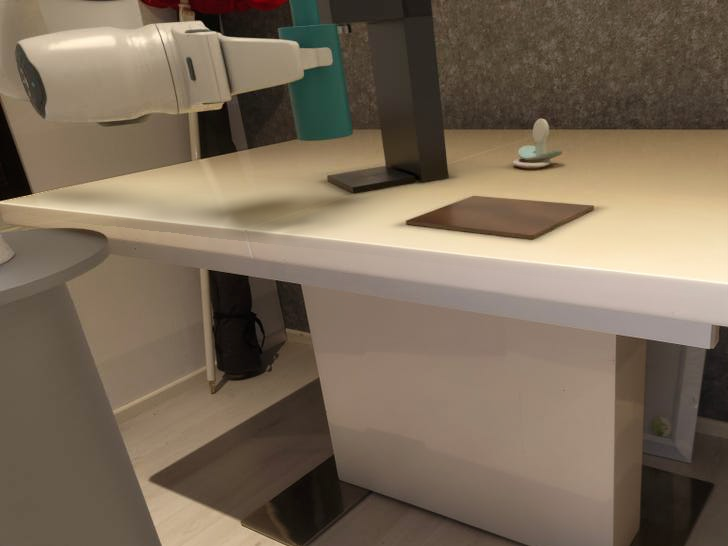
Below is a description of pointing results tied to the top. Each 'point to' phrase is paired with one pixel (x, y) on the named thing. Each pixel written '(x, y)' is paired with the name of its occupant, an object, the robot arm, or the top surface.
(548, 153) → the pacifier
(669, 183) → the top surface
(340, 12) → the dark post on base
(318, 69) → the bottle
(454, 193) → the top surface
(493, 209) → the board
